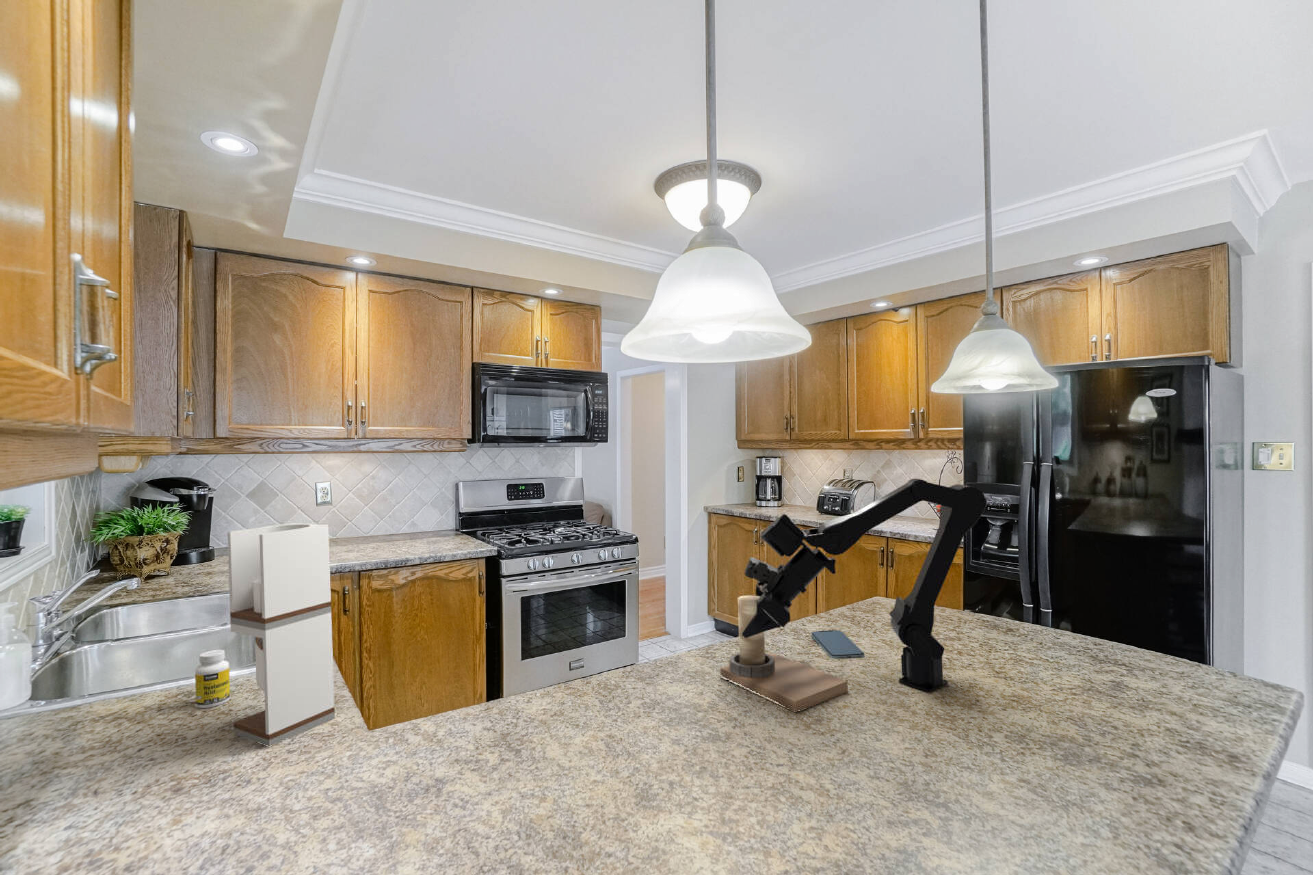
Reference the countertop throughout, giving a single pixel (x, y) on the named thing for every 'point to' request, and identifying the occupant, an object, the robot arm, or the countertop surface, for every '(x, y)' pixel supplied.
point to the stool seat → (785, 681)
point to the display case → (284, 625)
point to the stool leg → (753, 645)
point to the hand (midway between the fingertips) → (743, 628)
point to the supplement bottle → (212, 679)
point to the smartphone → (836, 644)
